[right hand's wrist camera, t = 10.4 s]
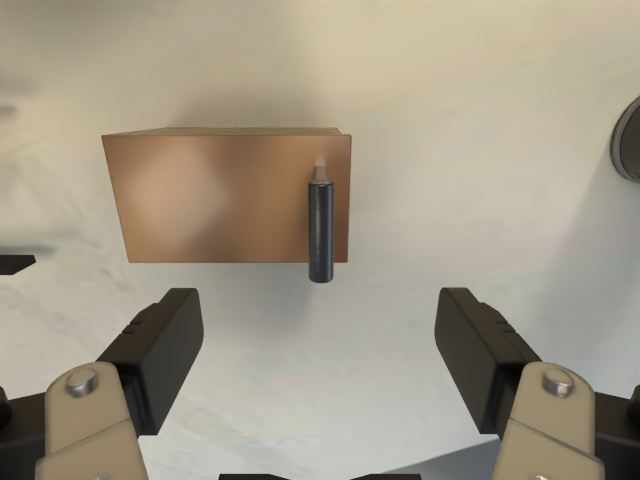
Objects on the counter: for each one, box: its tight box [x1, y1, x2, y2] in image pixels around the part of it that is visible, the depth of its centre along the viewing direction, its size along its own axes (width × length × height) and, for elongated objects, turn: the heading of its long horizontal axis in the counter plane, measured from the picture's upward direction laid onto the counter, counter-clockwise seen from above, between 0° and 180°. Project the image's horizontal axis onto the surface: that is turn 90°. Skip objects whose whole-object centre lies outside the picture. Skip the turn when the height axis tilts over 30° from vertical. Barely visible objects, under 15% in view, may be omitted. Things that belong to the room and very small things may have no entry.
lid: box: [101, 134, 352, 283], centre depth 22 cm, size 17×9×8 cm, turn 90°
